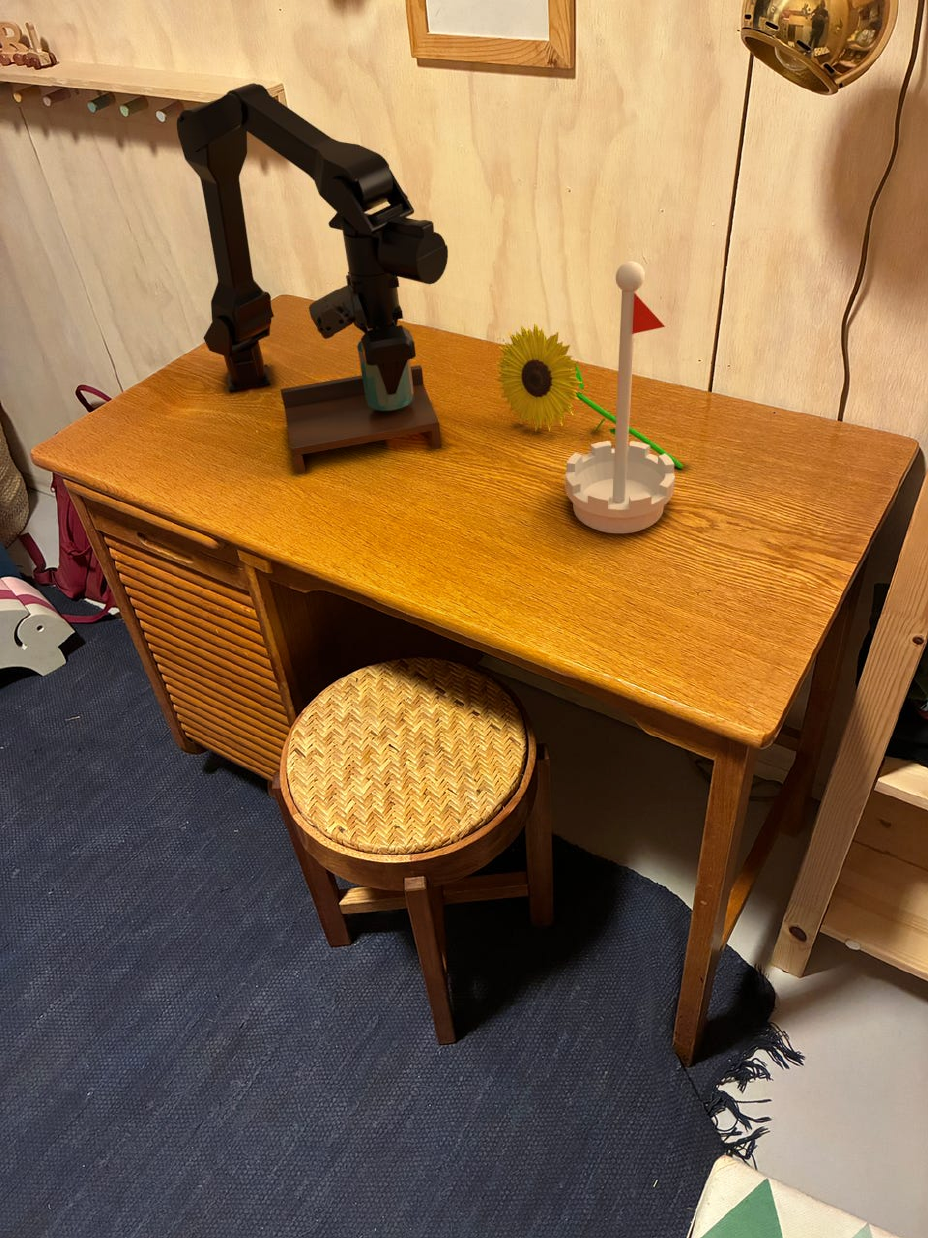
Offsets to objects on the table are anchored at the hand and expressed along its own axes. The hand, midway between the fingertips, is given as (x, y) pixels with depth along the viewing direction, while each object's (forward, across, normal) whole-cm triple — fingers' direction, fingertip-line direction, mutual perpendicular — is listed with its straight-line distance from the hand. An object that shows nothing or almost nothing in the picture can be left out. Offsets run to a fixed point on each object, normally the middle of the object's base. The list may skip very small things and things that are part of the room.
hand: (387, 381), depth 124 cm
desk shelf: (+8, 0, -4) cm, 9 cm away
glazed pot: (+2, 0, 0) cm, 2 cm away
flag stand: (+8, +27, +24) cm, 36 cm away
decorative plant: (+8, +11, +25) cm, 28 cm away
